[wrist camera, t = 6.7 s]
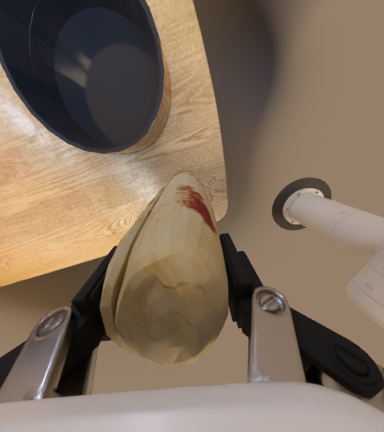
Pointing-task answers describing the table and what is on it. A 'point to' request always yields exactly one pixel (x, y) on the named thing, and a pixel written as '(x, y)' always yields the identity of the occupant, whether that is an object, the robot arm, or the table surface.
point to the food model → (168, 278)
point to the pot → (88, 70)
